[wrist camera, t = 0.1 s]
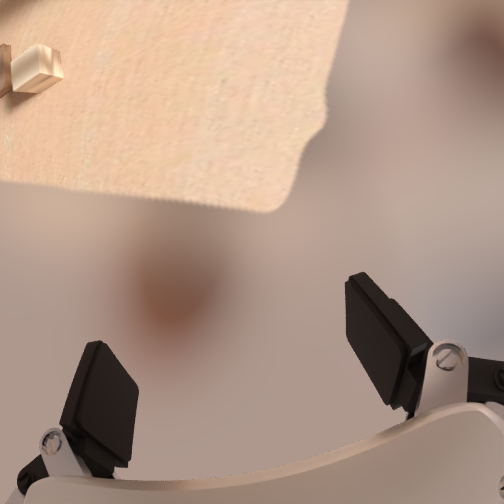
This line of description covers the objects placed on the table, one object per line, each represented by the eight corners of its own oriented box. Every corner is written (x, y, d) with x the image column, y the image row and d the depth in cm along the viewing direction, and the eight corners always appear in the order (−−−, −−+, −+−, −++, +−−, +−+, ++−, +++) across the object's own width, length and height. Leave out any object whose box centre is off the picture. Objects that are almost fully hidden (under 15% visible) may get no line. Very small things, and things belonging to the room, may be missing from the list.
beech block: (35, 67, 24) (10, 62, 18) (60, 51, 25) (37, 42, 18) (38, 93, 27) (13, 91, 20) (63, 78, 27) (40, 72, 21)
